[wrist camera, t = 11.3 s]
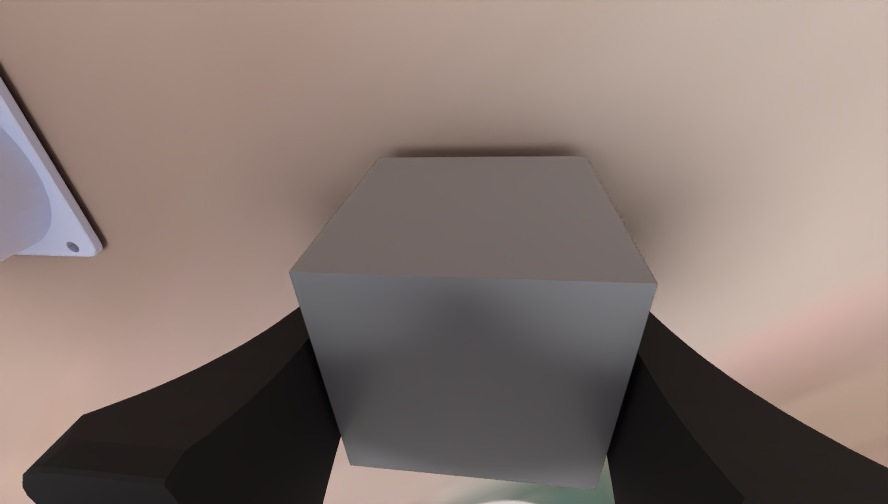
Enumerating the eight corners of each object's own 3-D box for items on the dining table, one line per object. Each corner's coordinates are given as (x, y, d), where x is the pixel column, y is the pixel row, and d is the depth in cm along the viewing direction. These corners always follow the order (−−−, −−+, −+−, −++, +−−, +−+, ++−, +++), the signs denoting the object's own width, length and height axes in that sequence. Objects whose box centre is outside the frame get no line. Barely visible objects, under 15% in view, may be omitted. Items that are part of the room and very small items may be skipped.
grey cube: (401, 310, 15) (350, 465, 10) (379, 157, 12) (288, 271, 7) (562, 317, 14) (595, 489, 9) (586, 155, 11) (657, 284, 6)
